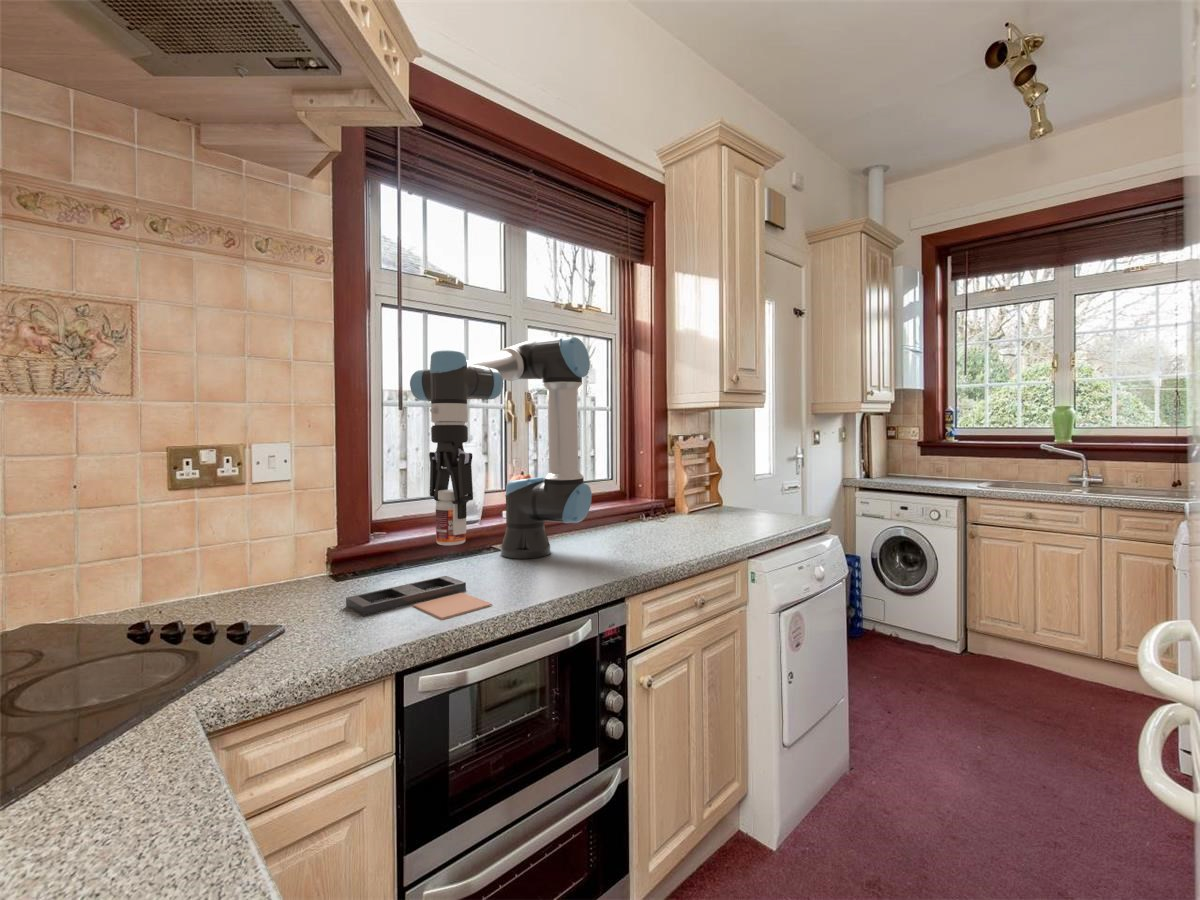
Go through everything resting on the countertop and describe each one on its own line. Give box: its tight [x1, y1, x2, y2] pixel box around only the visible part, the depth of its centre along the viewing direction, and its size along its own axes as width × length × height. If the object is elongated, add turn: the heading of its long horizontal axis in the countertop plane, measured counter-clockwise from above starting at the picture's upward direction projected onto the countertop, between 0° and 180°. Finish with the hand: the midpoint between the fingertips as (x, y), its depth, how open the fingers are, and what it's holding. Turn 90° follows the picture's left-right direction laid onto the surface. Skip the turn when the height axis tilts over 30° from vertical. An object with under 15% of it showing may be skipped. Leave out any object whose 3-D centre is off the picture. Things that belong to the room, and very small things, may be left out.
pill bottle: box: [435, 488, 467, 547], centre depth 116 cm, size 6×6×11 cm
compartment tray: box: [345, 575, 467, 617], centre depth 122 cm, size 24×9×2 cm, turn 136°
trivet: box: [412, 592, 493, 621], centre depth 117 cm, size 12×12×1 cm
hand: (451, 531), depth 116 cm, fingers closed on pill bottle, 6 cm apart
